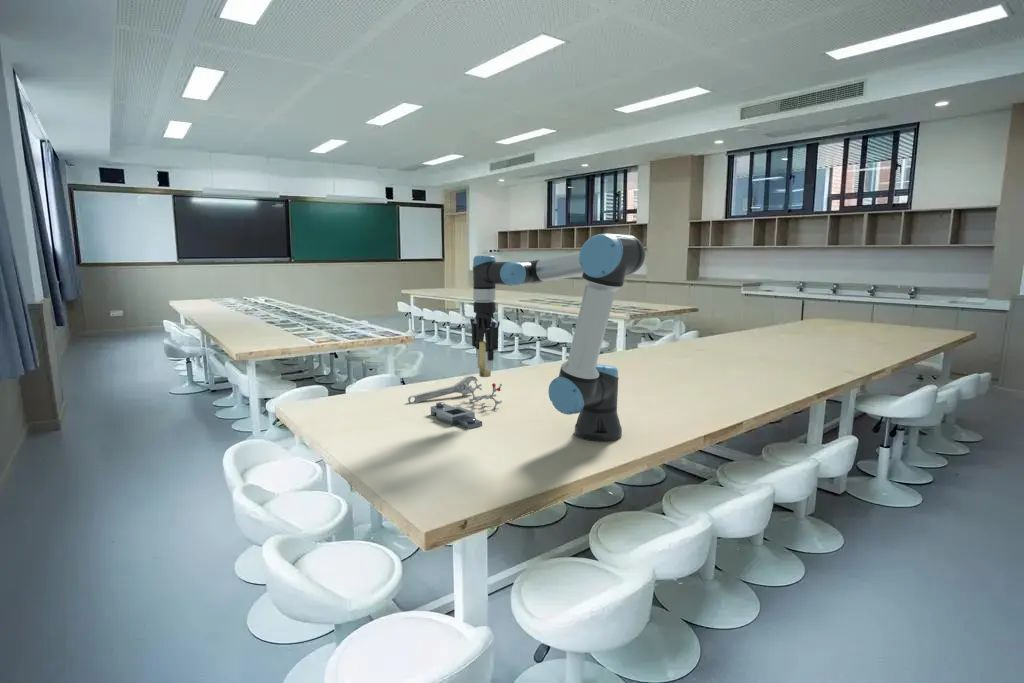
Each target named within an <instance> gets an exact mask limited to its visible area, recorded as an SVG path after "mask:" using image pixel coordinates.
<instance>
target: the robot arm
mask: <svg viewBox="0 0 1024 683" xmlns="http://www.w3.org/2000/svg"><path fill="white" fill-rule="evenodd" d="M645 259H646V250H645V247H644V244H643V243H642V241H641V240H640V239H638V238H637V237H636V236H634V235H631V234H617V233H608V232H605V233H604V232H603V233H599V234H595V235H593V236H591V237H590V238H589V237H588V239H587V240H586V241H585V242H584V243H583V245H582V247H581V248H580V251H578V252H571V253H568V254H562V255H557V256H552V257H547V258H541V259H536V260H530V261H529V260H527V261H496V257H495V255H476V256H474V257H473V259H472V260H473V263H472V276H473V277H472V278H473V279H472V281H473V284H472V285H473V286H472V287H473V290H472V291H473V292H472V293H473V294H472V299H473V301H474V302H473V312H474V314H475V316H474V317H473V318H470V324H471V346H472V347H475V348H474V349H476V352H475V353H476V368H477V369H479V342H480V341H486V346H487V350H485V370H491V371H492V370H493V369H494V359H495V357H494V352H495V351H496V350H499V327H500V324H501V322H500V321H499V320H497V321H496V319H495V317H494V313H496V307H497V306H496V302H495V300H496V285H502V286H503V285H504V286H520V285H525V284H526V285H527V284H540V283H544V282H548V281H554V280H561V279H567V278H568V279H569V278H576V277H580V276H581V278H582V280H583V282H584V284H585V286H584V291H583V293H582V294H583V295H582V299H581V303H580V307H579V312H578V315H577V320H576V325H575V328H574V332H573V336H572V337H573V338H572V341H571V345H570V349H569V353H568V358H567V361H565V362H563V363H561V364H560V365H561V366H560V370H559V374H558V376H557V377H555V378H554V379H552V381H551V382H550V383H549V386H548V389H547V390H548V396H549V397H548V398H549V401H550V402H551V403H552V405H553V407H554V408H555V409H556V410H557V411H558V412H560V413H561V414H563V415H569V416H570V415H573V414H575V415H576V414H578V417H577V420H576V423H575V425H574V435H575V436H577V437H578V438H580V439H581V440H582V439H583V440H587V441H593V442H611V441H612V442H613V441H615V440H619V439H621V437H622V435H623V434H622V433H623V427H622V425H621V422H620V418H619V415H618V398H619V397H618V394H619V393H618V392H619V370H618V368H617V367H616V366H613V365H609V364H602V363H598V361H599V358H600V357H599V356H600V353H601V349H602V344H603V340H604V337H605V333H606V330H607V326H608V321H609V318H610V314H611V311H612V306H613V302H614V299H615V295H616V292H617V291H618V290H620V289H621V288H623V286H624V281H625V279H626V278H625V277H626V276H628V275H632V274H635V273H636V272H637V271H639V270H640V268H641V267H642V266H643V264H644V262H645Z"/></svg>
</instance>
